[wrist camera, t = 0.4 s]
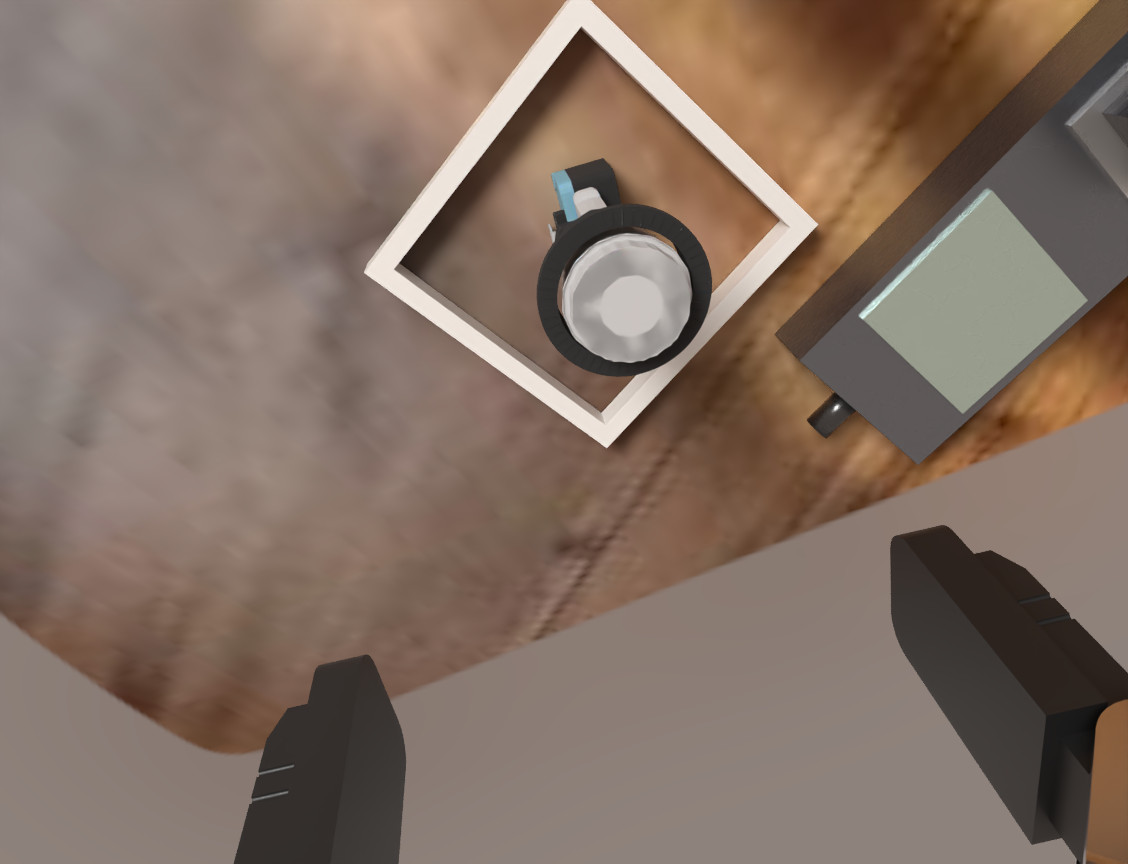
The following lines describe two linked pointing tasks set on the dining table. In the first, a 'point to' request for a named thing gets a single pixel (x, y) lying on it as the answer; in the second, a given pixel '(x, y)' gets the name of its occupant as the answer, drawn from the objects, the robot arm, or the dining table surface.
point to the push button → (619, 278)
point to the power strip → (983, 253)
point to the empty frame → (475, 143)
